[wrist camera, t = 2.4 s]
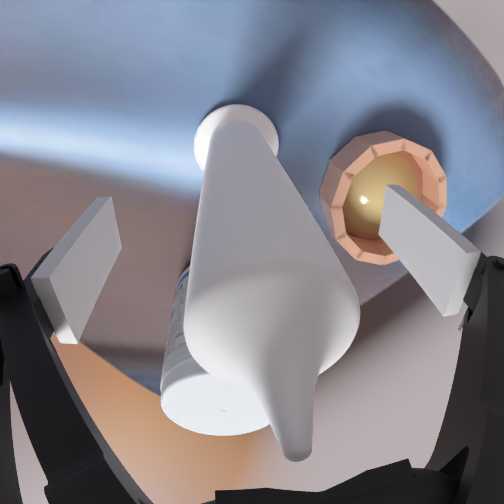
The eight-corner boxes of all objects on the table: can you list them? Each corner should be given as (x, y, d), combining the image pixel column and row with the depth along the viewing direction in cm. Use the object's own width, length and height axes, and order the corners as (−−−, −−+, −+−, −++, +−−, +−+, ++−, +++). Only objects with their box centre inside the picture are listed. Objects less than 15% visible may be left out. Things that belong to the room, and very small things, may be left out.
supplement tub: (275, 310, 36) (299, 424, 24) (196, 331, 37) (192, 444, 24) (251, 238, 31) (272, 357, 19) (160, 265, 32) (134, 386, 19)
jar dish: (308, 147, 27) (320, 157, 24) (422, 122, 26) (444, 130, 23) (331, 258, 33) (341, 278, 30) (428, 228, 32) (445, 244, 29)
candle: (274, 100, 25) (535, 276, 3) (280, 178, 28) (412, 469, 7) (189, 110, 24) (12, 350, 3) (200, 188, 28) (169, 507, 7)
